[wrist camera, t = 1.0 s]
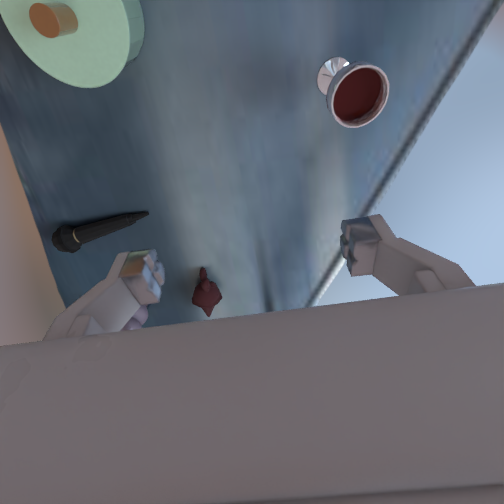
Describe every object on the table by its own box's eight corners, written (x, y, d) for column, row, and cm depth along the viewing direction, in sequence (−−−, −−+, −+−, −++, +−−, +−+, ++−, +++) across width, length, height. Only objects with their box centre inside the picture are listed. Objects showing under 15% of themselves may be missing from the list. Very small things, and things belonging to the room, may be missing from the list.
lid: (-24, -94, 25) (-73, -111, 21) (128, -48, 27) (109, -56, 23) (21, 71, 34) (-7, 81, 30) (135, 96, 36) (122, 109, 32)
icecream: (225, 323, 72) (223, 280, 63) (196, 329, 71) (190, 286, 62) (220, 304, 78) (217, 261, 69) (192, 309, 76) (186, 266, 67)
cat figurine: (141, 313, 79) (129, 353, 70) (114, 301, 75) (97, 342, 66) (158, 298, 75) (147, 339, 66) (130, 285, 71) (115, 326, 62)
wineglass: (359, 44, 39) (394, 58, 30) (355, 97, 44) (385, 122, 35) (310, 54, 40) (331, 71, 31) (311, 106, 44) (330, 133, 36)
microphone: (146, 197, 58) (56, 226, 59) (137, 203, 52) (39, 235, 53) (157, 221, 60) (70, 249, 61) (150, 230, 55) (55, 260, 56)
